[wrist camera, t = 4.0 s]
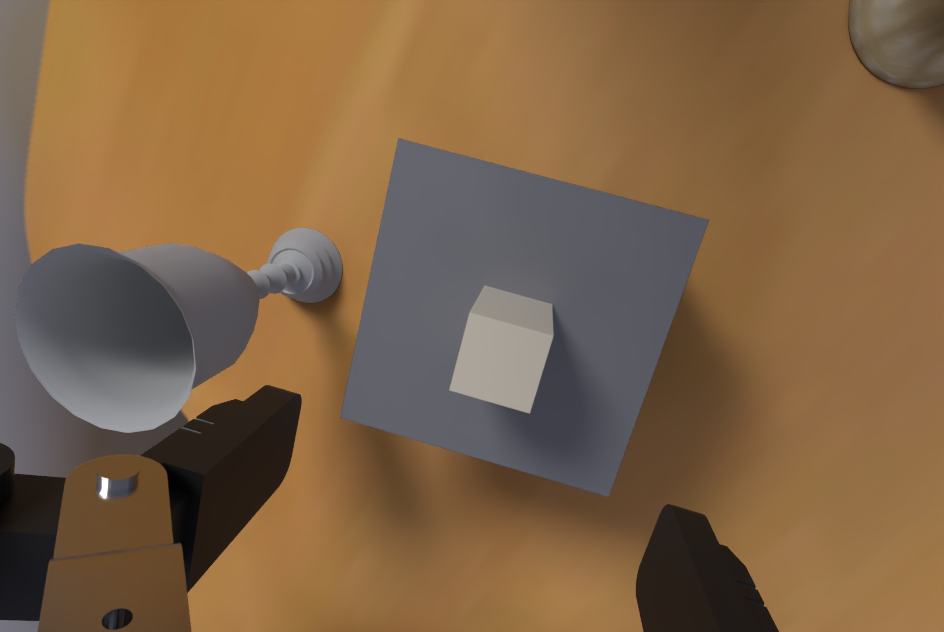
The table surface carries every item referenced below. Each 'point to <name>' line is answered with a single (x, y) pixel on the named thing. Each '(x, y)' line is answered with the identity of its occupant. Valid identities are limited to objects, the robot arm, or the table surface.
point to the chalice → (153, 320)
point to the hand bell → (900, 40)
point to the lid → (515, 315)
